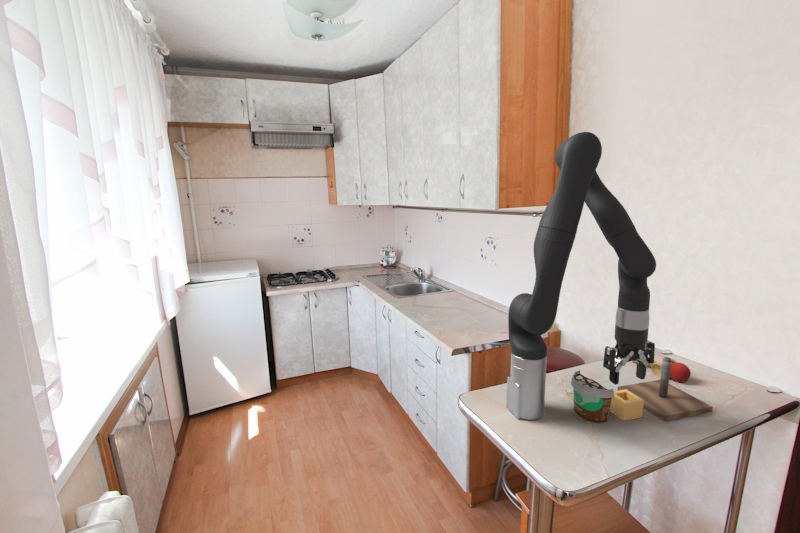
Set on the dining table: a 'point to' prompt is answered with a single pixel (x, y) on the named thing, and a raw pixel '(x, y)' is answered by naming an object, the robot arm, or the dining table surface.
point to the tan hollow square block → (626, 405)
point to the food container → (591, 399)
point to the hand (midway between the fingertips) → (627, 380)
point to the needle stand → (667, 397)
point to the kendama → (672, 370)
